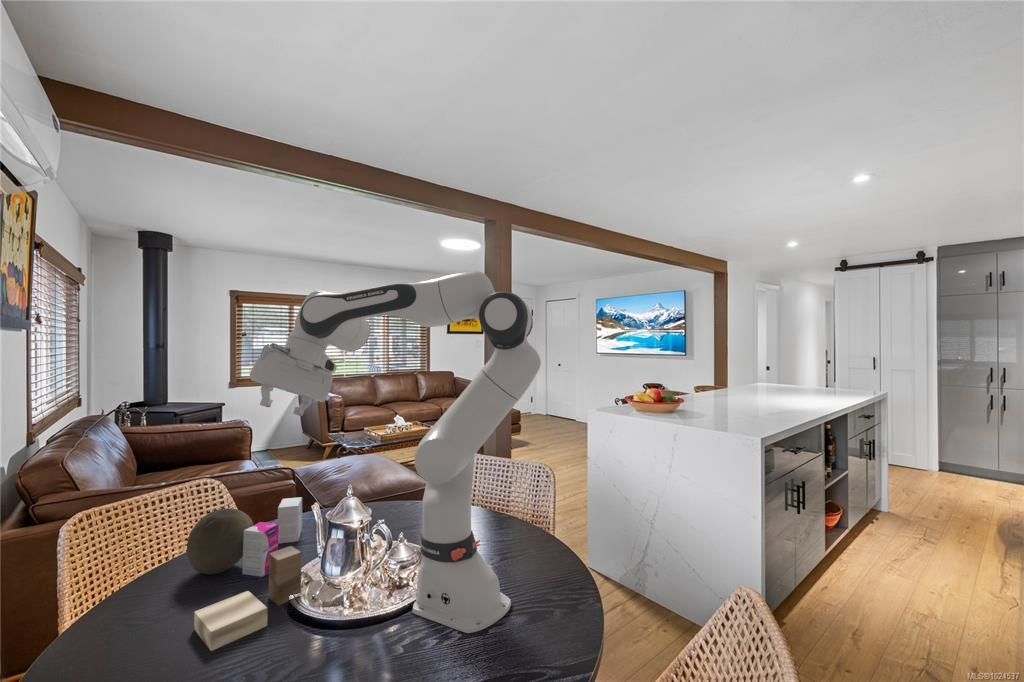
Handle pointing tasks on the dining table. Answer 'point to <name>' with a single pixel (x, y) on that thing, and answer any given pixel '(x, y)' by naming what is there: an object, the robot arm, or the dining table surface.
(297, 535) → the small box
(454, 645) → the dining table surface
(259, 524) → the supplement box
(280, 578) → the walnut block
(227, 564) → the cantaloupe
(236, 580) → the dining table surface
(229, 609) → the beech block
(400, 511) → the dining table surface
